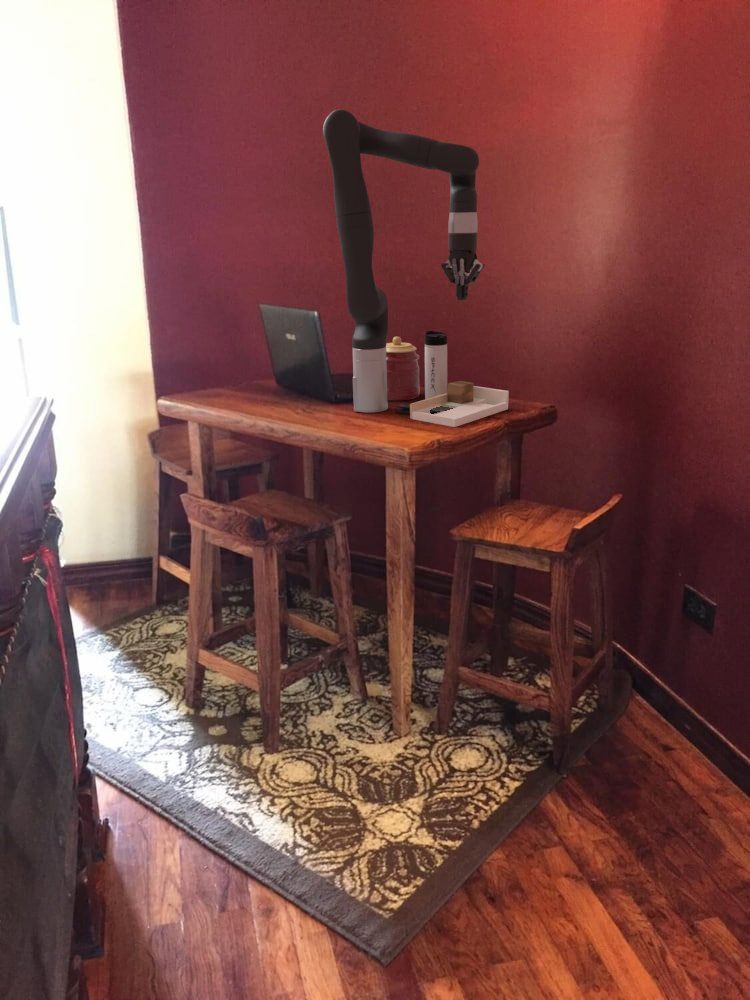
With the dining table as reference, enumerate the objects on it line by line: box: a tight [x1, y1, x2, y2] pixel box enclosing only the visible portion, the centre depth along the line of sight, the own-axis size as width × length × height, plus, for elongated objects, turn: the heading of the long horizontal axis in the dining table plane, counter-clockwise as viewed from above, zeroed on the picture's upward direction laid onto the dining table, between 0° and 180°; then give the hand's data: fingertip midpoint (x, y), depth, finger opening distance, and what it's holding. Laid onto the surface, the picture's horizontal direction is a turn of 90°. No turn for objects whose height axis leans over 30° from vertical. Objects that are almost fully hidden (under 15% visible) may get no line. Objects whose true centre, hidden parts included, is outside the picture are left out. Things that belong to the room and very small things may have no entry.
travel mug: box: [424, 330, 448, 400], centre depth 218 cm, size 6×7×20 cm
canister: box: [386, 336, 421, 402], centre depth 228 cm, size 13×13×18 cm
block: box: [447, 380, 475, 404], centre depth 213 cm, size 5×5×5 cm
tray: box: [409, 385, 510, 428], centre depth 208 cm, size 24×15×5 cm, turn 137°
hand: (461, 299), depth 207 cm, fingers closed
